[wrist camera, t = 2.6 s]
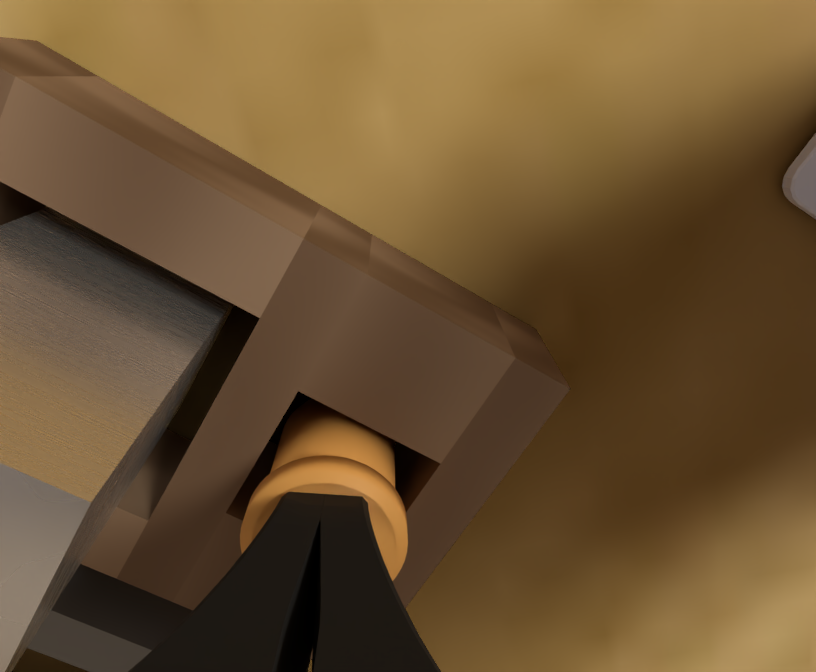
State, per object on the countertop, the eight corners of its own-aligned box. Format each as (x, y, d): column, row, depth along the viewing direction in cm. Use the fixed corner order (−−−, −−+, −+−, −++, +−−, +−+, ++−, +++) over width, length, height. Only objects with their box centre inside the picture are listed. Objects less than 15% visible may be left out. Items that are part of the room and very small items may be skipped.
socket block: (536, 329, 15) (570, 389, 12) (359, 579, 17) (353, 677, 14) (36, 40, 12) (-66, 30, 10) (-88, 377, 15) (-199, 447, 12)
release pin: (428, 423, 14) (439, 517, 11) (363, 519, 15) (355, 631, 12) (310, 361, 13) (288, 443, 10) (249, 465, 14) (212, 569, 11)
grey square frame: (225, 569, 17) (193, 667, 14) (118, 744, 19) (71, 858, 16) (-57, 446, 15) (-156, 528, 13) (-140, 650, 18) (-240, 759, 15)
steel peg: (247, 279, 14) (91, 503, 7) (178, 409, 15) (-23, 725, 8) (86, 192, 13) (-291, 336, 6) (25, 335, 15) (-358, 607, 7)
